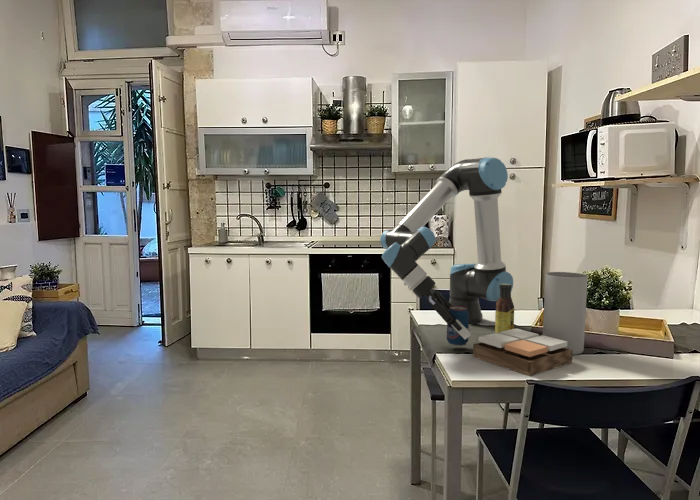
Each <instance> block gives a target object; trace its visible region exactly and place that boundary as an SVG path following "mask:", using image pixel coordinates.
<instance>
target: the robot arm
mask: <svg viewBox="0 0 700 500" xmlns="http://www.w3.org/2000/svg"><path fill="white" fill-rule="evenodd" d="M508 178H509V175H508V170H507V167H506V165H505V163H504V162H502V160H501V159H499V158H497V157H487V156H486V157H478V158H470V159H469V158H468V159H463V160H460V161H458V162H456V163H454V164H453V165H451V166H450V167H449V168H448V169H446V170H445V171H444V172H443V173H441V175H440V176H439V177H438V178H437V179H436V181H435V182H436V184H435V185H434V186H433V187H432V188H431V189H430V190H429V191H428V192H427V193H426V195H425V196H423V197H422V199H421V200H419V202H417V204H416V205H415V206H414V207H413V208H412V209H411V210H410V211H409V212H408V213H407V214H406V215H405V216H404V217H403V218H402V219H401V221H399V223H398V224H396V226H395V227H394V228H393V229H388V230H384V231H383V232H382V233H381V235H380V245H381V247H382V248H383V249H385V251H383V253H382V255H381V259H382V260H383V262H384V263H385V264H386V265H387V267H388V268H390V269H391V270H392V271H393V273H395V274H396V275H397V277H398V278H400V280H402V282H403V286H407V287H408V289H411V290H412V293H413V294H414V295H415V296H416V297H418V299H421V298H422V297H424V296H425V298H426V300H427V304H428V305H430V307H432V308H433V310H434V311H436V313H437V314H438V315H439V316H440V317H441V318H442V320H443V321H444V322H445V323H446V325H447V324H448V326H450V325H451V326H452V327H453V328H454V329H455V330H456V331H457V332H458V333H459V334H460V335H461V336H462V337H463V338H464V339H467V338H468V339H469V337H470V336H471V335H472V333H471V332H470V331H471V330H472V329H473V327H472V326H471V325H470V324H478V323H481V322H482V321H483V320H484V319H483V317H484V315H483V313H482V310H481V306H480V301H479V299H483V300H487V301H490V302H497V300H498V299H499V298H500V288H499V286H500V284H511V285H512V288H511V292H512V290H513V288H514V278H513V275H512V274H511V273H509V272H508V271H507V268H506V267H507V266H506V263H505V262H503V261H502V253H501V236H500V234H501V233H500V215H499V214H500V213H499V201H498V200H499V197H500V196H501V195H502V189H504V188H505V186H506V185H507V182H508ZM465 191H468V194H469V195H468V196H469V197H470V198H471V199H472V200H473V204H474V205H473V207H474V208H473V209H474V219H475V236H476V237H475V239H476V252H477V253H476V254H477V263H476V262H475V263H473V262H472V263H458V264H453V265H452V266H451V267H450V273H449V301H448V300H447V299H446V298H445V296H443V295H442V293H441V292H440V291H439V290H437V289H436V290H435V289H434V288H433V287H434V286H436V281H434V279H432V277H430V276H429V275H427V272H426V271H425V270H424V269H423V268H422V267H421V265H419V264H418V263H417V261H418V260H420V258H421V257H422V256H424V255H425V253H427V252H428V251H429V250H430V249H431V248H432V247H433V246H434V245H435V243H436V241H437V239H436V235H435V233H434V232H433V231H432V230H431V228H428V227H426V224H427V223H429V222H430V220H431V219H432V218H433V217H434V216H435V215H436V214H437V213H438V212H439V210H441V209H442V208H443V207H444V206H445V204H446V203H447V202H449V200H450V199H451V198H455V197H457V195H458V194H459V193H462V192H465ZM451 306H463V307H466V308H467V311H468V313H469V328H468V330H467V329H466V328H465V327H464V326H463V325H462V324H461V323H460V322H459V321H458V319H456V318H455V317H454V316H453V315H452V314H451V313H450V311H449V307H451Z"/></svg>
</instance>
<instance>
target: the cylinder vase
mask: <svg viewBox="0 0 700 500" xmlns="http://www.w3.org/2000/svg"><path fill="white" fill-rule="evenodd" d="M544 276H545V277H544V278H545V279H544V281H545V283H544V297H543V298H544V299H543V300H544V302H543V322H542V335H544V336H548V337H552V338H555V339H559V340H563V341H567V347H564V348H567V349H571V350H573V351H572V356H575V355H581V354H582V353H583V352H584V349H585V348H584V347H585V329H586V313H587V295H588V294H587V293H588V280H589V279H588V277H589V275H587V274H583V273H578V272H570V271H551V272H550V271H549V272H548V271H547V272H546V273H545V275H544Z"/></svg>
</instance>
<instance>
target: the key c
mask: <svg viewBox="0 0 700 500" xmlns="http://www.w3.org/2000/svg"><path fill="white" fill-rule="evenodd" d="M526 341H528V342H532V343H536V344H539V345H543V346H546V347H548V351H553V350H556V349H560V348H564V347H567V341H563V340H559V339H555V338H552V337H548V336H544V335H543V334H541V335H539V336H537V337H533V338H529V339H526Z"/></svg>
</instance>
